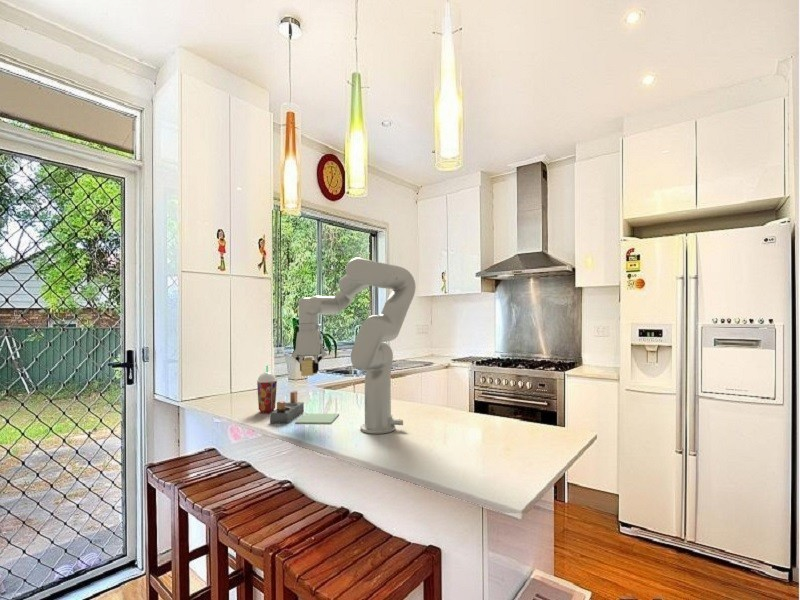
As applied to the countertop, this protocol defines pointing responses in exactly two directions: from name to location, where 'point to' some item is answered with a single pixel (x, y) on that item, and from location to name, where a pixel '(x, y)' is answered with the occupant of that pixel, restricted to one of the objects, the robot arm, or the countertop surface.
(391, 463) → the countertop surface
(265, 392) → the smoothie
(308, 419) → the rubber mat
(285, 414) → the hand plane
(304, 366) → the lever cap
